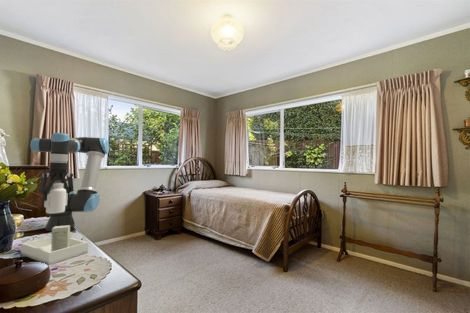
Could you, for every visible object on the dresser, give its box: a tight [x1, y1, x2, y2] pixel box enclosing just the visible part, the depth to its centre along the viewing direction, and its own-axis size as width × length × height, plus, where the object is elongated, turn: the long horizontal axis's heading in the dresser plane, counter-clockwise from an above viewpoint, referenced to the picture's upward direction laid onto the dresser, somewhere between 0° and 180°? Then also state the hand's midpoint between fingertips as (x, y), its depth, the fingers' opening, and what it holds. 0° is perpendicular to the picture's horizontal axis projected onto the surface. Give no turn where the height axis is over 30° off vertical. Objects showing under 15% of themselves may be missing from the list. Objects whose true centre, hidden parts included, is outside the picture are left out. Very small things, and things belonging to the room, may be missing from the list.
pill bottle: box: [45, 182, 66, 214], centre depth 122 cm, size 8×8×15 cm
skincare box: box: [51, 225, 71, 252], centre depth 108 cm, size 6×4×12 cm
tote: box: [19, 235, 89, 266], centre depth 109 cm, size 16×24×5 cm, turn 64°
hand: (55, 206), depth 121 cm, fingers closed on pill bottle, 8 cm apart
